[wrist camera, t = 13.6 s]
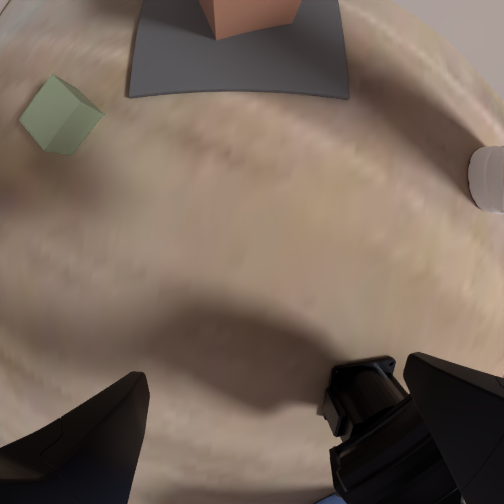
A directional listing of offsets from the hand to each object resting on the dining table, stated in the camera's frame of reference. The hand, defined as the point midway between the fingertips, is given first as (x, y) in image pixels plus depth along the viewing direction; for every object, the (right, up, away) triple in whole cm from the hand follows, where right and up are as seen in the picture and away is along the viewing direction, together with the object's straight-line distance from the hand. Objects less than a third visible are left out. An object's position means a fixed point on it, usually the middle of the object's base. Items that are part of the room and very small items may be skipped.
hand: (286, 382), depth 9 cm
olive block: (-15, +14, +9) cm, 23 cm away
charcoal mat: (-2, +23, +8) cm, 25 cm away
